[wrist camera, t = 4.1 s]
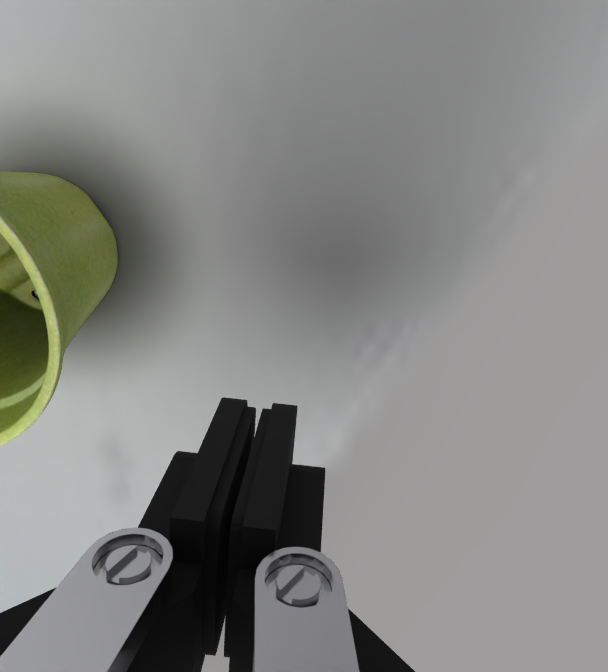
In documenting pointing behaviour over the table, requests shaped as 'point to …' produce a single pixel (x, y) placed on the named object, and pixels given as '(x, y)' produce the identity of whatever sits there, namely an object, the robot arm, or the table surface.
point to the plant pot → (45, 286)
